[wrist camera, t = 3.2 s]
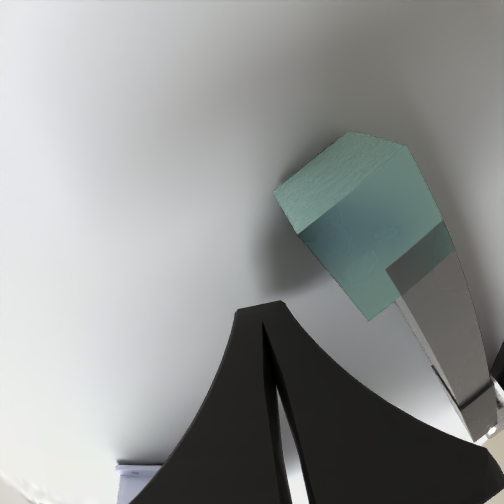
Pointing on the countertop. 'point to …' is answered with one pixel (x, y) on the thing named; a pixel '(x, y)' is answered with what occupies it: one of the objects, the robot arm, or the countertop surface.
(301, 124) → the countertop surface
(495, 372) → the tongs fixed arm
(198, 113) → the countertop surface
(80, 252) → the countertop surface
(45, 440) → the countertop surface
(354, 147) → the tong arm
